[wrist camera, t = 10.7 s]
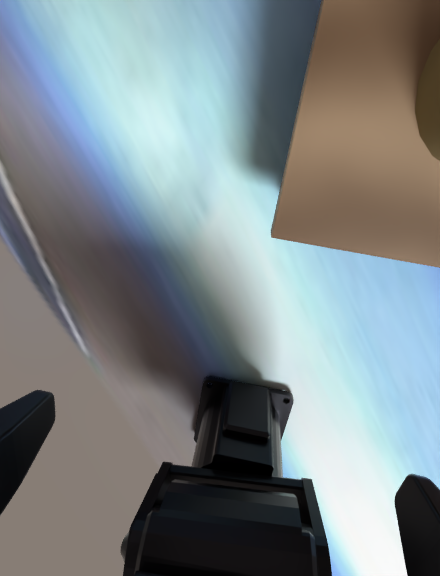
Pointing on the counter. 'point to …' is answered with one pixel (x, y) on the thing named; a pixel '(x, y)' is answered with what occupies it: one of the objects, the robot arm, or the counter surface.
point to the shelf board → (364, 136)
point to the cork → (430, 103)
